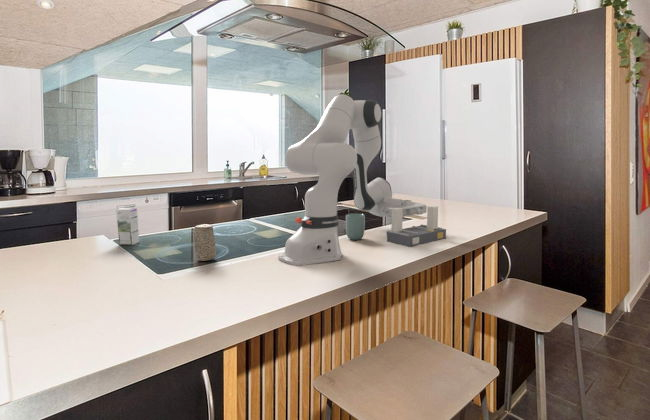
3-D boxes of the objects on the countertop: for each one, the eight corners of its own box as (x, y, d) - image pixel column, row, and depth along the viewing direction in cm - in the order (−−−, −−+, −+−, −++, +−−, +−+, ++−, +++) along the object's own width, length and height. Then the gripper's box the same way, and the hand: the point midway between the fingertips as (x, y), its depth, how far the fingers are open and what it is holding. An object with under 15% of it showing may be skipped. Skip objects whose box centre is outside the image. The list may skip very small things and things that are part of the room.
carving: (202, 257, 149) (200, 223, 147) (220, 258, 146) (219, 224, 144) (190, 261, 143) (188, 226, 141) (209, 263, 140) (207, 227, 138)
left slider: (397, 232, 167) (397, 209, 166) (391, 230, 170) (391, 208, 168) (402, 231, 169) (402, 208, 168) (396, 230, 171) (396, 207, 170)
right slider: (432, 229, 172) (433, 207, 171) (426, 228, 174) (427, 206, 173) (437, 228, 174) (438, 206, 173) (431, 227, 176) (432, 205, 175)
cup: (365, 241, 172) (365, 216, 170) (346, 241, 172) (346, 216, 171) (364, 237, 180) (364, 213, 178) (345, 237, 180) (345, 213, 178)
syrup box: (140, 242, 174) (137, 206, 172) (132, 245, 168) (129, 208, 166) (126, 241, 175) (124, 206, 172) (118, 245, 169) (115, 208, 167)
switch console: (410, 247, 161) (411, 235, 160) (386, 241, 170) (386, 230, 169) (446, 239, 174) (446, 228, 173) (422, 234, 184) (422, 224, 183)
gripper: (379, 204, 182) (404, 207, 171) (411, 199, 194) (436, 202, 184) (379, 218, 183) (404, 222, 172) (411, 213, 195) (436, 217, 185)
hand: (421, 212), depth 178 cm, fingers closed
